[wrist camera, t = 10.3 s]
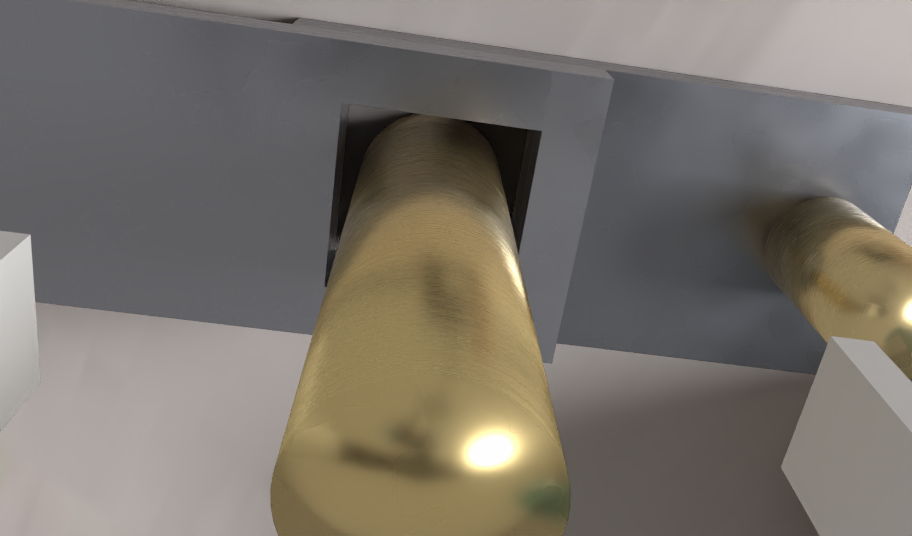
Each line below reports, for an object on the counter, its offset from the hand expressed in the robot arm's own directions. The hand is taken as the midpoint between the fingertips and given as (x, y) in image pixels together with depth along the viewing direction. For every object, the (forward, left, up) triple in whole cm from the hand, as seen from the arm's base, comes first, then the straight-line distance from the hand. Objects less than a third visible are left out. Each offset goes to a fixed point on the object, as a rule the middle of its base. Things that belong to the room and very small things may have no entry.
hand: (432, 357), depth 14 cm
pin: (0, 0, -11) cm, 11 cm away
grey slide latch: (0, 0, -11) cm, 11 cm away
